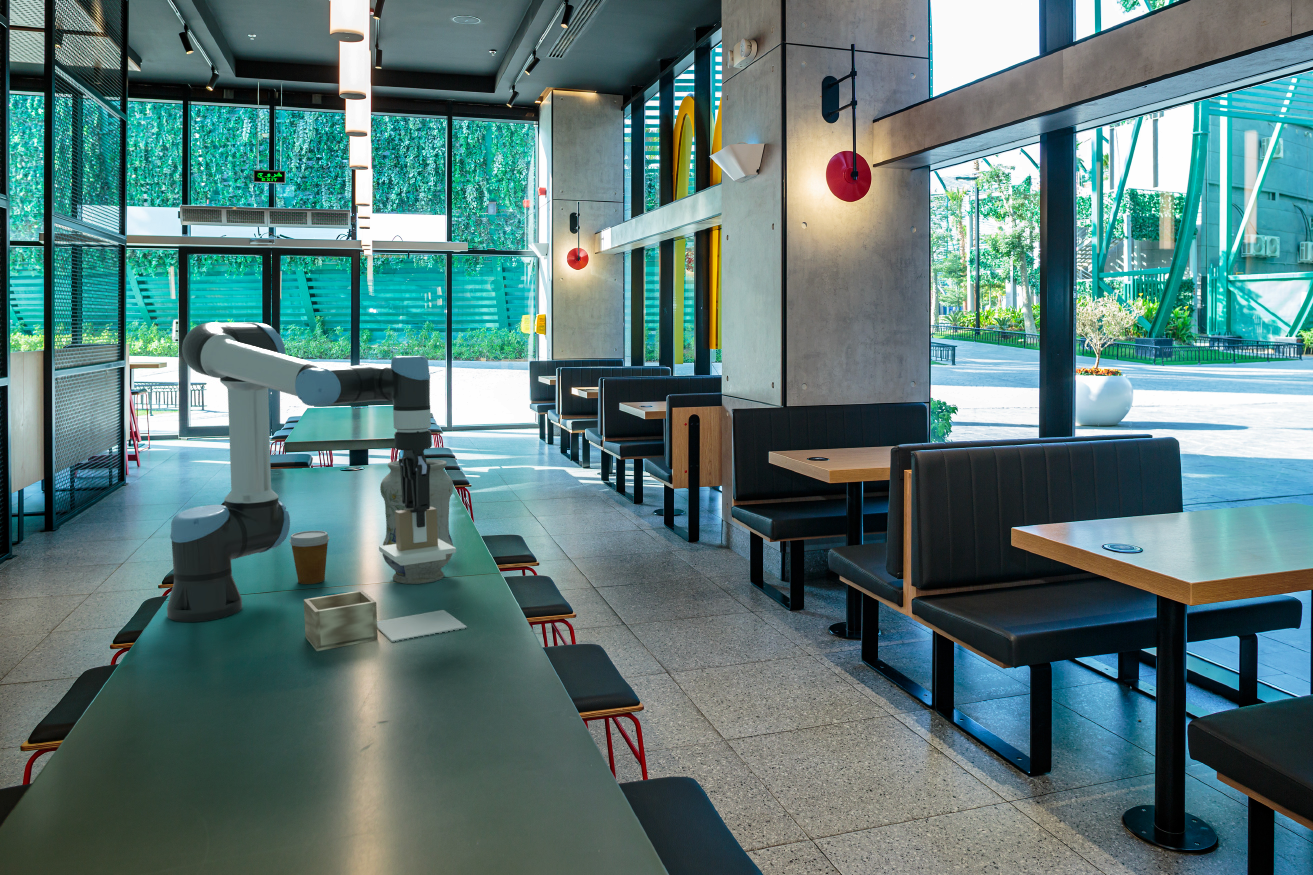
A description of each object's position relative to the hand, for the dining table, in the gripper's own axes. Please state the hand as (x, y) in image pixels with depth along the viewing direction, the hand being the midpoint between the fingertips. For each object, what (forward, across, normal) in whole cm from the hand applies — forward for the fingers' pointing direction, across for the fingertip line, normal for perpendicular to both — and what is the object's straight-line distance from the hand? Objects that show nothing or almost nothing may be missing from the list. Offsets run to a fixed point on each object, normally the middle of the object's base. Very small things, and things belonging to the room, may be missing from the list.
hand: (417, 540), depth 194 cm
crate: (+19, +1, +16) cm, 25 cm away
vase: (+19, +38, -13) cm, 45 cm away
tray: (+19, 0, 0) cm, 19 cm away
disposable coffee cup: (+19, +50, +11) cm, 55 cm away
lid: (+4, 0, 0) cm, 4 cm away
